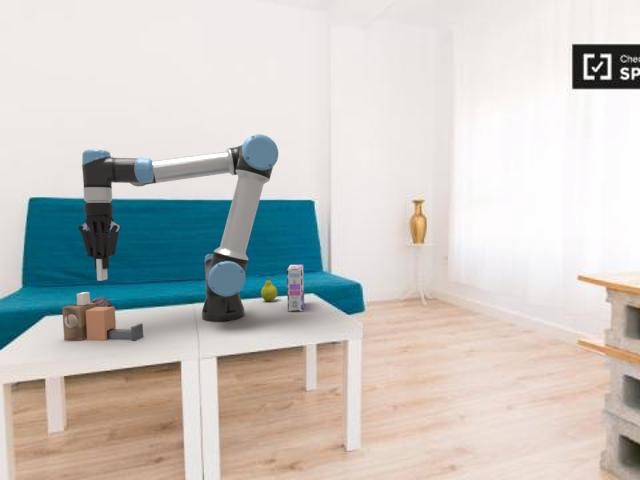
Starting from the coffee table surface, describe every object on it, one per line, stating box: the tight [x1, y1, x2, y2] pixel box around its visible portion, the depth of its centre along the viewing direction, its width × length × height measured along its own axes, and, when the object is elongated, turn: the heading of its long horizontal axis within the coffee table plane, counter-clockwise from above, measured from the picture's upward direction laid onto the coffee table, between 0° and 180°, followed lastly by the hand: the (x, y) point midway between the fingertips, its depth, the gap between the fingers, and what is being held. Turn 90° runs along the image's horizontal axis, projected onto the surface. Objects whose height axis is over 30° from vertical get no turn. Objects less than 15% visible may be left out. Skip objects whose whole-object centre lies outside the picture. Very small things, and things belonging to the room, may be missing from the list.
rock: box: [90, 296, 113, 307], centre depth 144 cm, size 12×9×10 cm
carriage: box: [86, 306, 117, 341], centre depth 127 cm, size 6×5×9 cm
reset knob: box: [76, 291, 91, 305], centre depth 128 cm, size 2×3×4 cm, turn 171°
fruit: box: [260, 273, 278, 302], centre depth 176 cm, size 7×7×12 cm
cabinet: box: [62, 302, 96, 342], centre depth 128 cm, size 6×8×10 cm
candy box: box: [286, 264, 305, 312], centre depth 162 cm, size 14×6×16 cm, turn 179°
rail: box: [107, 323, 144, 342], centre depth 127 cm, size 18×4×4 cm, turn 81°
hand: (102, 279), depth 126 cm, fingers closed
